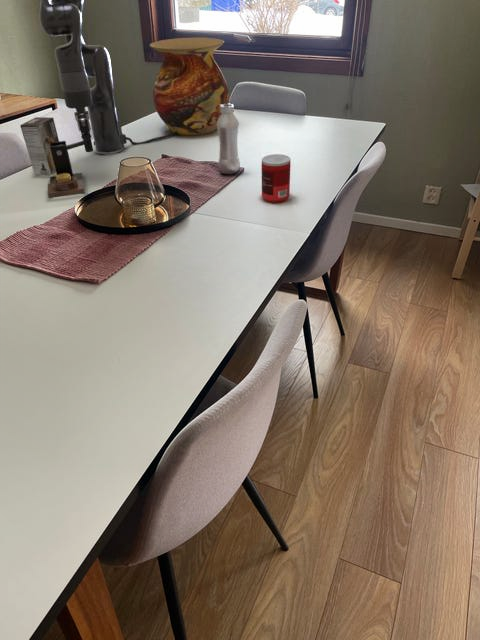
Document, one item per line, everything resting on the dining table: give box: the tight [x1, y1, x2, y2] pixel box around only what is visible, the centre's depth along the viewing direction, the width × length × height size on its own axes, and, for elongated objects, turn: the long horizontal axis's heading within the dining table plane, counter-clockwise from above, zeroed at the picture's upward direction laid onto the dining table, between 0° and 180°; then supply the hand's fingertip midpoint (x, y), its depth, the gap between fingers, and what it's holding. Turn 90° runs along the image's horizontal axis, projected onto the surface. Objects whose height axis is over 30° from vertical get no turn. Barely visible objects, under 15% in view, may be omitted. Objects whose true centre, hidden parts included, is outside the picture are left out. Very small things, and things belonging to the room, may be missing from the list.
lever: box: [56, 140, 84, 151], centre depth 148 cm, size 11×5×2 cm, turn 106°
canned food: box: [261, 153, 292, 204], centre depth 136 cm, size 8×8×11 cm
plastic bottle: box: [216, 103, 241, 175], centre depth 150 cm, size 6×7×20 cm
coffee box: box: [20, 116, 60, 176], centre depth 157 cm, size 9×6×16 cm
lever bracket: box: [49, 140, 84, 184], centre depth 150 cm, size 10×8×12 cm
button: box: [55, 173, 71, 183], centre depth 144 cm, size 4×4×2 cm
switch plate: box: [47, 176, 86, 199], centre depth 145 cm, size 10×8×4 cm
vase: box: [149, 37, 230, 136], centre depth 188 cm, size 29×29×30 cm
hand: (89, 148), depth 150 cm, fingers closed on lever, 5 cm apart
